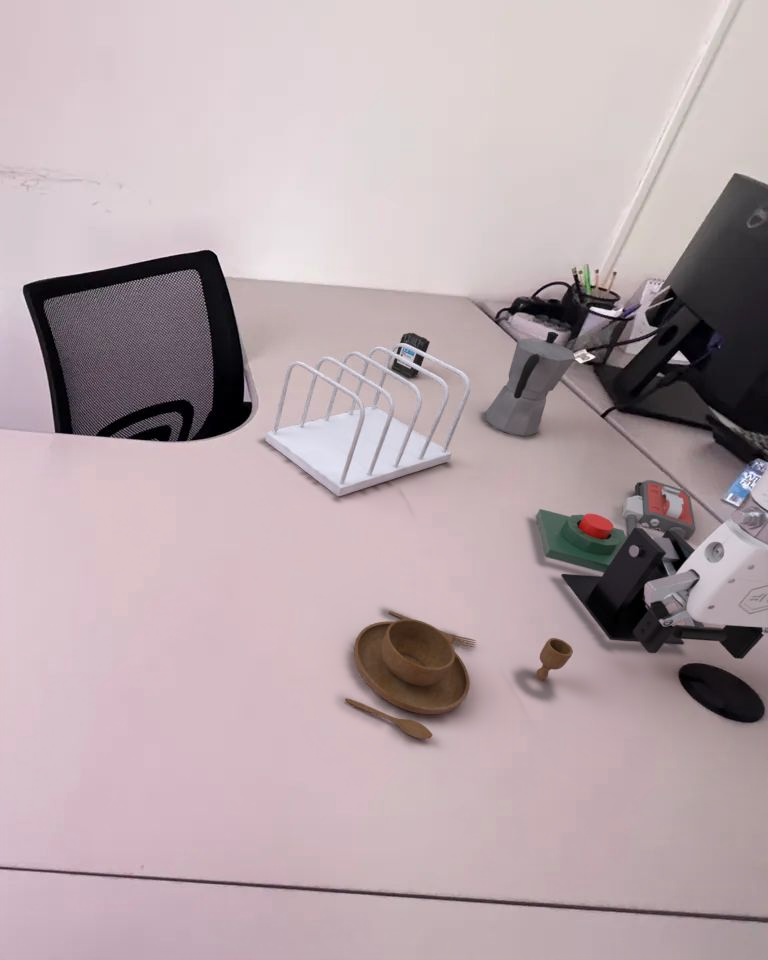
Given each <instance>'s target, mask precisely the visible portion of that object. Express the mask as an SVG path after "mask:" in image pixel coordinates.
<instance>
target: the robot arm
mask: <svg viewBox="0 0 768 960" xmlns="http://www.w3.org/2000/svg"><path fill="white" fill-rule="evenodd" d="M694 550H695V551H694V552H693V553H692V554H691V556H690V557H689V558H688V559H687V560H686V561H685V562H684V564H683V565H682V566H681V568H680V569H679V570H678V571H677V573H676V574H675V575H672V576H668V577H664V578H660V579H656V580H652V581H649V582H647V583H646V584H645V587H644V597H643V600H644V602H645V604H646V607H647V609H648V611H647V613H646V614H645V615H644V617H643V618H642V619H641V621H640V622H639V623H638V625H637V626H636V627H635V629H634V630H633V634H634V635H635V637H636V638H637V639H638V640H639V644H641V645H642V647H643V648H644V649H645V650H646V652H647V653H649V654H656V653H657V652H659V650H660V649H661V648H662V647H663V646H664V644H666V643H665V641H666V640H667V639H668V638H669V636H670V635H671V634H672V633H673V631H674V630H675V629H674V627H673V626H674V625H676V624H677V623H680V622H681V621H684V619H686V618H688V617H690V616H691V617H692V618H693V619H694V620H695V621H698V622H701V623H703V624H707V625H708V624H709V625H721V626H724V627H722V629H724V630H725V631H726V633H727V638H726V640H724V641H718V642H719V644H721V645H722V647H723V648H724V649H725V650H726V651H727V652H728V654H730V655H731V656H732V657H733V658H734V659H736V660H737V659H738V660H742V659H744V658H745V657H746V655H748V653H749V652H750V651H751V650H752V649H753V648H754V647H755V646H756V645H757V643H758V642H759V641H761V639H763V637H764V636H765V635H767V634H768V468H766V470H765V471H764V472H763V474H762V475H761V476H760V477H759V479H758V480H757V482H756V483H755V484H754V486H753V487H752V488H751V489H750V490H749V492H748V493H747V495H746V496H745V497H744V499H743V500H742V501H741V502H740V504H739V505H738V507H737V508H736V509H735V510H733V512H732V513H731V515H730V517H729V519H728V520H725V521H723V523H721V524H720V525H719V526H718V527H717V528H716V529H715V530H713V532H711V533H710V535H709V536H708V537H707V538H705V540H703V541H702V542H701V543H700V544H699V545H698V547H697V548H696V549H694ZM682 596H683V597H688V602H687V601H686V600H685V599H684V598H683V597H682ZM675 601H677V602H678V603H679V604H680V605H681V607H682V608H679V609H678V608H677V609H675V610H673V611H671V612H669V610H668V607H667V606H669V605H671V604H673V603H675Z"/></svg>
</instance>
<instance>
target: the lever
mask: <svg viewBox="0 0 768 960" xmlns="http://www.w3.org/2000/svg"><path fill="white" fill-rule="evenodd" d="M650 537H651V538H652V539H653V540H654V541H655V542H656V543H657V544H658V545H659V546H660V547H661V548H662V549H663V550H664V551H665V552H666V554H665V555H664V557H663V558H662V559H661V561H660V562H659V564H658V565H657V566H656V568H658V570H659V572H660V574H661V576H662V578H664V577H668V576H672V575H675V574H676V573H677V572H676V570H675V568H674V566H673V563H674V562H676V561H677V560H679V559H680V558H679V556H678V554H677V552H676V550H675V548H674V547H673V545H672V543H671V541H670V539H669V538H662V537H660V536H659V537H658V536H650ZM682 597H683V596H682ZM683 598H684V599H685V600H686V601H687V602H688V597H683ZM674 604H675V606H676V608H677V609H679V608H682V607H681V605H680V604H679V603H678V602H677V601H675V602H674ZM683 622H684V624H685V625H684V624H673V625H672V626H673V627H674V629H675V630H674V631H673V633H672V635H673V636H674V637H675V638H678V639H682V640H693V641H709V642H719V641H724V640H726V638H727V633H726V631H725V630H724V629H723V627H717V626H716V627H714V626H705V625H704V623H701V622H698V621H695V620H694V619H693V618H692V617H691V616H690V617H688V618H686V619H684V620H683Z"/></svg>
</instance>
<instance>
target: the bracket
mask: <svg viewBox="0 0 768 960" xmlns="http://www.w3.org/2000/svg"><path fill="white" fill-rule="evenodd" d="M651 537H652V536H651V535H650V534H648V532H647V531H645V530H644V528H642V527H636V528H634V529H633V530H632V532H631V533H630V535H629V536H628V535H627V537H626V538H627V539H626V541H625V542H624V544H623V545H622V547H621V548H620V550H619V551H618V553H617V554H616V556H615V557H614V559H613V560H612V562H611V563H610V565H609V566H608V568H607V569H606V571H605V572H603V574H602V576H599V575H586V574H571V573H561V575H560V576H561V577H562V579H563V580H564V581H565V583H566V584H567V586H568V587H569V588H570V589H571V591H572V592H573V593H574V595H575V596H576V597H577V598H578V600H579V601H580V602H581V604H582V605H583V607H584V608H585V610H587V612H588V613H589V614H590V615H591V617H592V618H593V619H594V621H595V622H596V623H597V625H598V626H599V627H600V629H601V630H602V631H603V632H604V634H605V636H606V637H607V638H608V639H609V640H610V641H624V642H639V640H638V639H637V638H636V637H635V635H634V634H633V630H634V629H635V627H636V626H637V625H638V623H639V622H640V621H641V619H642V618H643V617H644V615H645V614H646V613H647V611H648V609H647V607H646V604H645V602H644V600H643V597H644V587H645V584H646V583H647V582H649V581H652V580H656V579H660V578H662V576H661V574H660V572H659V570H658V568H656V566H657V565H658V564H659V562H660V561H661V559H662V558H663V557H664V555H665V554H666V552H665V551H664V550H663V549H662V548H661V547H660V546H659V545H658V544H657V543H656V542H655V541H654V540H653V539H652V538H651ZM661 538H669V539H670V541H671V543H672V545H673V547H674V548H675V550H676V552H677V554H678V556H679V558H680V559H679V560H677V561H676V562H674V563H673V566H674V568H675V570H676V572H677V571H678V570H679V569H680V568H681V566H682V565H683V564H684V562H685V561H686V560H687V559H688V558H689V557H690V556H691V554H692V553H693V552H694V551H695V550H696V549H694V548H693V547H692V546H691V545H690V544H689V543H688V542H687V540H685V539H683V538H682V537H681V536H680V535H678V534H677V533H676V532H675V531H671V530H667V531H666V532H664V533H663V535H662V536H661ZM639 643H640V642H639ZM664 644H669V645H684V644H685V642H684V640H683V639H678V638H675V637H674V636H673V635H672V634H671V635H670V636H669V638H668V639H667V640H666V641H665V643H664Z"/></svg>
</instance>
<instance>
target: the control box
mask: <svg viewBox="0 0 768 960" xmlns="http://www.w3.org/2000/svg"><path fill="white" fill-rule="evenodd" d="M584 515H585V514H572V515H570V516H569V515H565V514H561V513H557V512H554V511H551V510H550V511H549V510H546V509H542V508H539V510H538V511H537V513H536V515H535V519H536V523H537V526H538V531H539V535H540V539H541V543H542V547H543V551H544V555H545V558H549V559H553V560H556V561H560V562H564V563H567V564H571V565H574V566H578V567H582V568H585V569H589V570H592V571H593V570H594V571H597V572H601V573H604V572H605V571H606V569H607V568H608V566H609V565H610V563H611V562H612V560H613V559H614V557H615V556H616V554H617V553H618V551H619V550H620V548H621V547H622V545H623V544H624V542H625V541H626V539H627V538H628V537H627V536H626V534H625V531H624V530H623V529H620V528H616V527H613V530H612V531H611V533H610V534H609V536H608V537H607V538H606V539H598V538H594V537H591V536H589V535H587V534H585V533H584V532H583V531H582V530H580V529H579V528H578V525H579V523H580V522H581V520H582V519H583V517H584Z"/></svg>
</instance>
